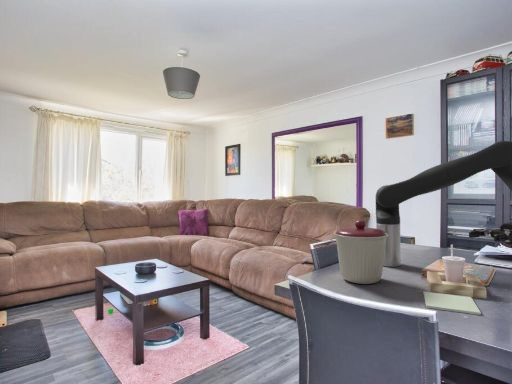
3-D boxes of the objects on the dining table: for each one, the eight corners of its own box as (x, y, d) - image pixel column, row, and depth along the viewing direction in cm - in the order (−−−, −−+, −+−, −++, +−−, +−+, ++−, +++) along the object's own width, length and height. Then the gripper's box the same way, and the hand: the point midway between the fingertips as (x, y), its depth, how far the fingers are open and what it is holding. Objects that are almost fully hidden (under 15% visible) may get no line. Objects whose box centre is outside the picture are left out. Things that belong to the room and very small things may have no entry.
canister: (380, 292, 94) (379, 224, 94) (326, 281, 105) (325, 221, 105) (394, 278, 109) (394, 219, 109) (345, 270, 120) (344, 216, 119)
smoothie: (437, 285, 100) (437, 243, 100) (455, 284, 100) (455, 242, 100) (451, 292, 93) (451, 246, 93) (471, 291, 94) (470, 246, 94)
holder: (430, 292, 93) (430, 282, 93) (427, 279, 106) (427, 271, 106) (486, 298, 87) (486, 288, 87) (475, 284, 100) (475, 275, 100)
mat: (426, 307, 82) (426, 305, 82) (423, 293, 93) (423, 291, 93) (480, 315, 77) (480, 312, 77) (471, 299, 87) (471, 297, 87)
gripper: (497, 220, 110) (461, 222, 106) (543, 224, 96) (504, 227, 92) (498, 240, 110) (462, 244, 106) (543, 247, 96) (504, 251, 92)
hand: (481, 236), depth 99 cm, fingers open, 8 cm apart
